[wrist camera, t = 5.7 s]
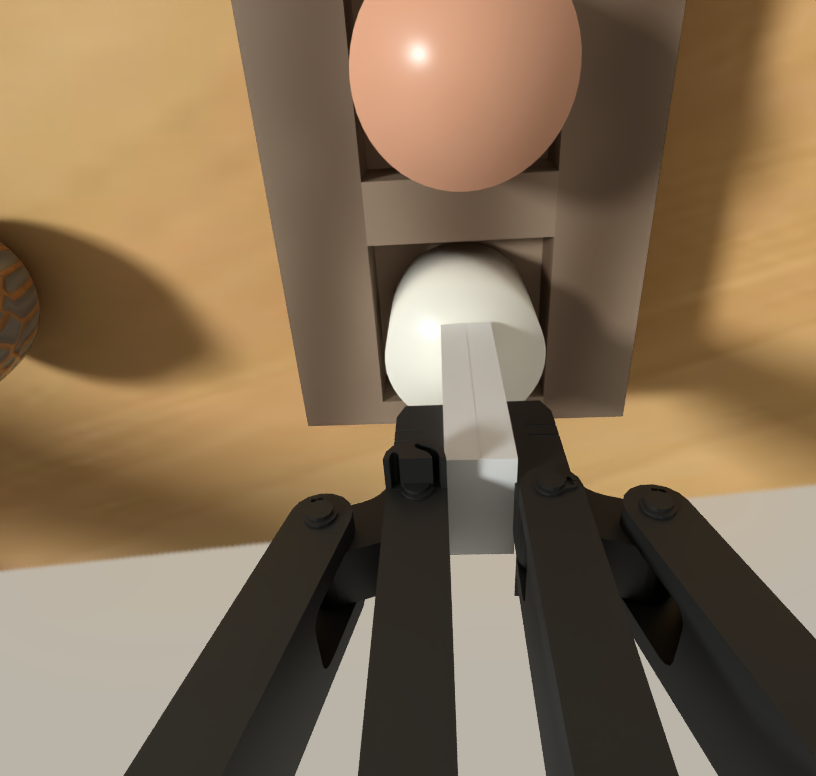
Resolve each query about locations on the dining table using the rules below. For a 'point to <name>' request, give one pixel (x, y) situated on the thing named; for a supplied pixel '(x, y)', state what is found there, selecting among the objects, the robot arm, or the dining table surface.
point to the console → (458, 205)
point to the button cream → (461, 320)
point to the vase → (16, 311)
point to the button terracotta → (464, 85)
